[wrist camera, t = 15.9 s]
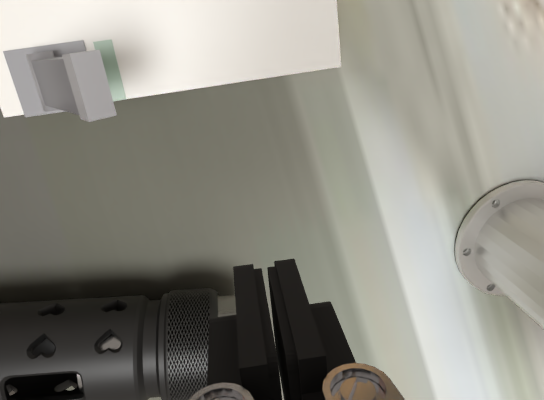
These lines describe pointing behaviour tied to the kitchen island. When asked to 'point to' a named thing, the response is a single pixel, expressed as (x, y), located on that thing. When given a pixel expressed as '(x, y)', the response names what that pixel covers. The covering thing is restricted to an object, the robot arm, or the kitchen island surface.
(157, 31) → the panel
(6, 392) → the muzzle brake
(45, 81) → the lever
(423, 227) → the kitchen island surface
